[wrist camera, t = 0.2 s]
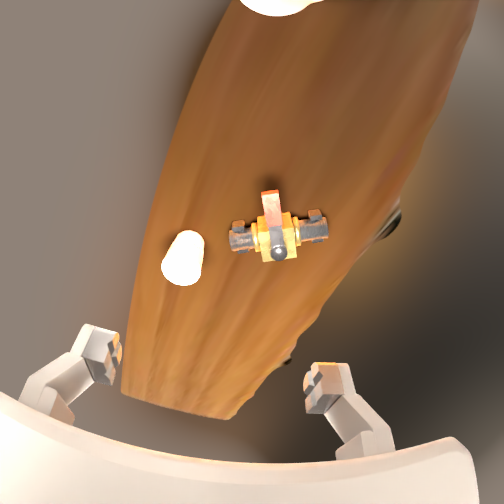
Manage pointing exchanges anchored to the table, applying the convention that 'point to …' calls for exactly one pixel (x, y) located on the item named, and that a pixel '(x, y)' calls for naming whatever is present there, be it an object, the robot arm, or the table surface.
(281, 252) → the lever
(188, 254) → the white cup
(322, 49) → the table surface
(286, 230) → the valve
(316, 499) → the robot arm
